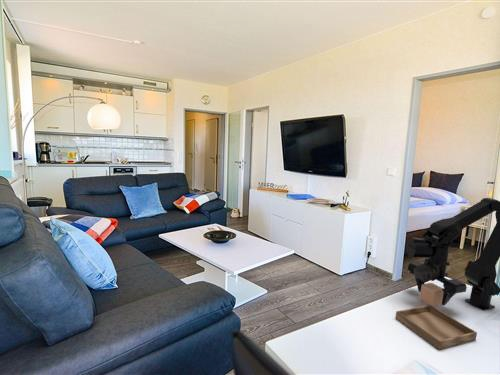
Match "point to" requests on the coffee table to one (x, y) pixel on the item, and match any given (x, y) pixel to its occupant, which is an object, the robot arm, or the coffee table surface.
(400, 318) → the walnut tray
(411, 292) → the coffee table surface
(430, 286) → the terracotta block
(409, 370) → the coffee table surface
